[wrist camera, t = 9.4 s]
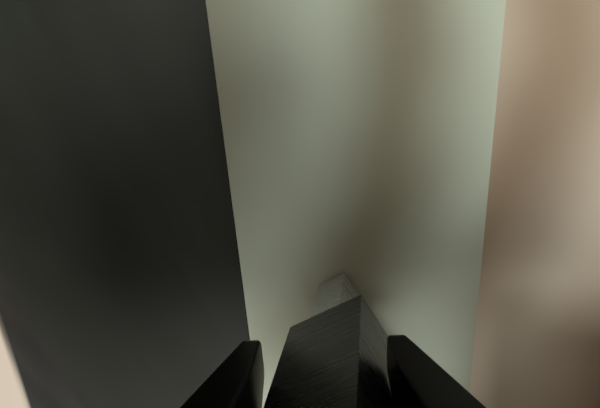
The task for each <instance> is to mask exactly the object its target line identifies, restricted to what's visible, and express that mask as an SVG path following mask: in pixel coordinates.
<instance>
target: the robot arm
mask: <svg viewBox="0 0 600 408" xmlns="http://www.w3.org/2000/svg"><path fill="white" fill-rule="evenodd" d="M387 372H388V378H389V384H390V389H391V395H392V400H393V405H394V408H486V407H485V406H484V405H483V404H482V403H481V402H480V401H479V400H477V399H476V398H475V397H474V396H473V395H472V394H471V393H470V392H468V391H467V390H466V389H465V388H464V387H463V386H462V385H461V384H459V383H458V382H457V381H456V380H455V379H454V378H453V377H452V376H451V375H449V374H448V373H447V372H446V371H445V370H444V369H443V368H442V367H440V366H439V365H438V364H437V363H436V362H435V361H434V360H433V359H432V358H430V357H429V356H428V355H427V354H426V353H425V352H424V351H423V350H421V349H420V348H419V347H418V346H417V345H416V344H415V343H414V342H413V341H411V340H410V339H409V338H408V337H407V336H405V335H389V336H388V338H387ZM263 387H264V362H263V354H262V346H261V342H260V341H259V340H246V341H243V342H242V343H241V344H240V345H239V346H238V347H237V348H236V349H235V350H234V351H233V352H232V353H231V354H230V355H229V356H228V357H227V359H226V360H225V361H224V362H223V363H222V364H221V365H220V366H219V367H218V368H217V369H216V370H215V371H214V372H213V373H212V374H211V375H210V377H209V378H208V379H207V380H206V381H205V382H204V383H203V384H202V385H201V386H200V387H199V388H198V389H197V390H196V391H195V392H194V393H193V395H192V396H191V397H190V398H189V399H188V400H187V401H186V402H185V403H184V404H183V405H182V406H181V407H180V408H262V399H263Z"/></svg>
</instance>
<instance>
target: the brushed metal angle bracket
mask: <svg viewBox="0 0 600 408" xmlns="http://www.w3.org/2000/svg"><path fill="white" fill-rule="evenodd" d="M387 338H388V335H387V334H386V332H385V331H384V329H383V327H382V326H381V324H380V323H379V321H378V320H377V318H376V317H375V315H374V313H373V312H372V310H371V309H370V307H369V306H368V304H367V302H366V301H365V299H364V298H363V296H362V295H359V294H358V292H357V291H356V289H355V288H354V286H353V285H352V283H351V281H350V280H349V278H348V277H347V275H346V274H345V272H343V273H341V274H338V275H336V276H334V277H332V278H330V279H328V280H326V281H324V282H322V283H320V284H319V286H318V289H317V293H316V297H315V301H314V305H313V309H312V312H311V316H310V318H309V319H307V320H304V321H302V322H300V323H298V324H296V325H293V326H291V327H290V329H289V332H288V335H287V338H286V341H285V344H284V347H283V350H282V353H281V356H280V359H279V362H278V365H277V368H276V371H275V374H274V377H273V380H272V383H271V386H270V389H269V392H268V395H267V398H266V401H265V404H264V407H263V408H394V405H393V400H392V395H391V389H390V384H389V378H388V372H387Z"/></svg>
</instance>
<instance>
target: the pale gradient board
mask: <svg viewBox="0 0 600 408" xmlns="http://www.w3.org/2000/svg"><path fill="white" fill-rule="evenodd" d="M206 8H207V15H208V23H209V30H210V38H211V46H212V53H213V61H214V69H215V76H216V84H217V91H218V99H219V107H220V114H221V122H222V130H223V137H224V145H225V152H226V160H227V168H228V175H229V183H230V191H231V198H232V206H233V213H234V221H235V229H236V236H237V244H238V251H239V259H240V267H241V274H242V282H243V290H244V297H245V305H246V312H247V320H248V328H249V335H250V340H259V341H260V342H261V346H262V354H263V362H264V387H263V399H262V408H263V407H264V404H265V401H266V398H267V395H268V392H269V389H270V386H271V383H272V380H273V377H274V374H275V371H276V368H277V365H278V362H279V359H280V356H281V353H282V350H283V347H284V344H285V341H286V338H287V335H288V332H289V329H290V327H291V326H293V325H296V324H298V323H300V322H302V321H304V320H307V319H309V318H310V316H311V312H312V309H313V305H314V301H315V297H316V293H317V289H318V286H319V284H320V283H322V282H324V281H326V280H328V279H330V278H332V277H334V276H336V275H338V274H341V273H343V272H345V274H346V275H347V277H348V278H349V280H350V281H351V283H352V285H353V286H354V288H355V289H356V291H357V292H358V294H359V295H362V296H363V298H364V299H365V301H366V302H367V304H368V306H369V307H370V309H371V310H372V312H373V313H374V315H375V317H376V318H377V320H378V321H379V323H380V324H381V326H382V327H383V329H384V331H385V332H386V334H387V335H388V336H389V335H405V336H407V337H408V338H409V339H410V340H411V341H413V342H414V343H415V344H416V345H417V346H418V347H419V348H420V349H421V350H423V351H424V352H425V353H426V354H427V355H428V356H429V357H430V358H432V359H433V360H434V361H435V362H436V363H437V364H438V365H439V366H440V367H442V368H443V369H444V370H445V371H446V372H447V373H448V374H449V375H451V376H452V377H453V378H454V379H455V380H456V381H457V382H458V383H459V384H461V385H462V386H463V387H464V388H465V389H466V390H467V391H468V392H470V393H471V394H472V395H473V396H474V397H475V398H476V399H477V400H479V401H480V402H481V403H482V404H483V405H484V406H485V407H486V408H600V0H206Z"/></svg>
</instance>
